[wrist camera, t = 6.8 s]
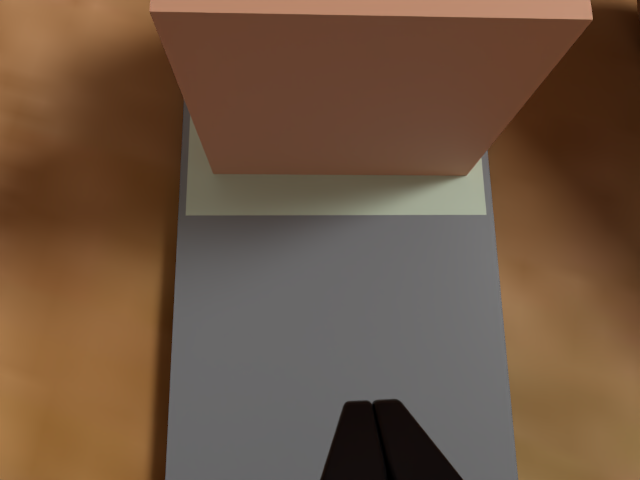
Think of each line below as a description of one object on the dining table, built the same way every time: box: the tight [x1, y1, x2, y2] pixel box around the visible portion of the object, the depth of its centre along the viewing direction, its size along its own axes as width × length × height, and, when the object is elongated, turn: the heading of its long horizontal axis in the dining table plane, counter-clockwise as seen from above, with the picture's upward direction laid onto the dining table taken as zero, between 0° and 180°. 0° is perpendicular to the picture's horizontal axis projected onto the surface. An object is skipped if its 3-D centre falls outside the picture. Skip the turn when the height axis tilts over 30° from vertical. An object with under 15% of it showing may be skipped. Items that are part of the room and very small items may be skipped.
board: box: [165, 100, 518, 480], centre depth 20 cm, size 20×11×1 cm, turn 1°
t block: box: [150, 0, 593, 176], centre depth 17 cm, size 8×9×9 cm
